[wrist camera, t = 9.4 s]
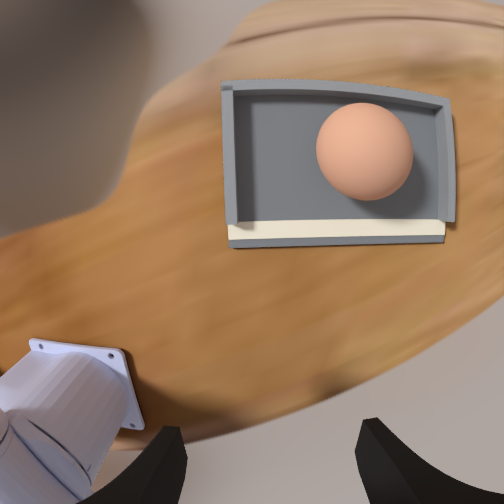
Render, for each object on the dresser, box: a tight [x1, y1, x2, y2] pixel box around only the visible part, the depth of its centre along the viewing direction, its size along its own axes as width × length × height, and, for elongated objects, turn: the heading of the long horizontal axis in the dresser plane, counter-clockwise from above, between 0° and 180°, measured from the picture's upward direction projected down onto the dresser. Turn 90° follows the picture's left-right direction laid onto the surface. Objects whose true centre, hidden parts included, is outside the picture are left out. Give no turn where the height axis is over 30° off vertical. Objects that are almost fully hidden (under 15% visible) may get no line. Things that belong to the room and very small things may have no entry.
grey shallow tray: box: [221, 79, 456, 248], centre depth 16 cm, size 14×9×2 cm
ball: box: [316, 103, 413, 201], centre depth 14 cm, size 5×5×5 cm
